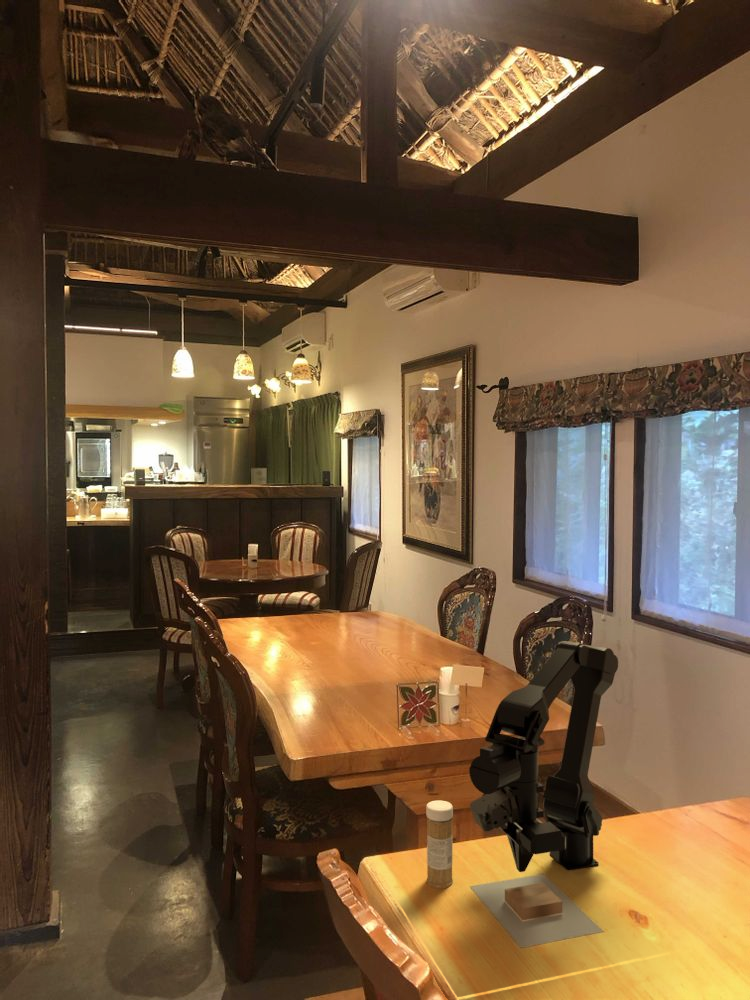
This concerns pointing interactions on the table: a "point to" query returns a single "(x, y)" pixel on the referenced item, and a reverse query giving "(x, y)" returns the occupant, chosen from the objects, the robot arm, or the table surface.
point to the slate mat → (535, 930)
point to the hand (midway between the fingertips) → (521, 870)
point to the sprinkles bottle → (439, 844)
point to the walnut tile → (533, 901)
